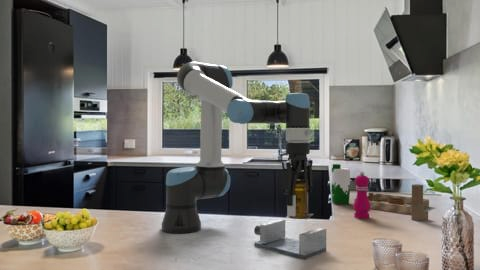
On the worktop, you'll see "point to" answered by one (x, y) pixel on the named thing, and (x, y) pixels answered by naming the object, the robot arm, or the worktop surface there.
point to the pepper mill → (361, 197)
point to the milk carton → (340, 184)
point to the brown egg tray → (393, 206)
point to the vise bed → (286, 247)
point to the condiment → (301, 200)
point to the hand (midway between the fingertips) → (297, 214)
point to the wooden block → (418, 203)
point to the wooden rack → (391, 200)
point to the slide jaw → (271, 231)
